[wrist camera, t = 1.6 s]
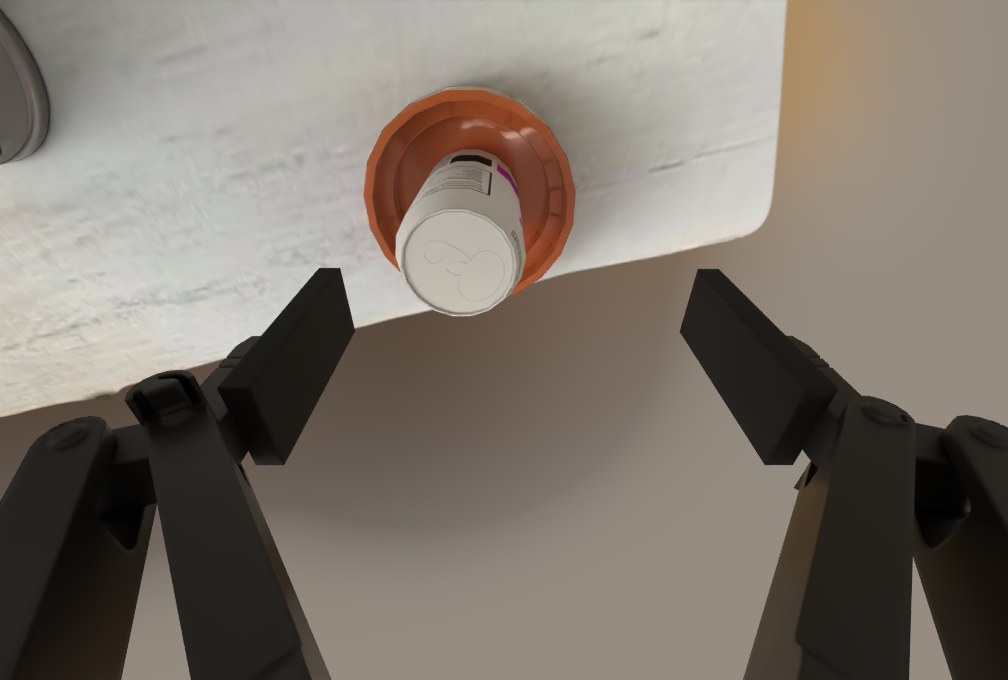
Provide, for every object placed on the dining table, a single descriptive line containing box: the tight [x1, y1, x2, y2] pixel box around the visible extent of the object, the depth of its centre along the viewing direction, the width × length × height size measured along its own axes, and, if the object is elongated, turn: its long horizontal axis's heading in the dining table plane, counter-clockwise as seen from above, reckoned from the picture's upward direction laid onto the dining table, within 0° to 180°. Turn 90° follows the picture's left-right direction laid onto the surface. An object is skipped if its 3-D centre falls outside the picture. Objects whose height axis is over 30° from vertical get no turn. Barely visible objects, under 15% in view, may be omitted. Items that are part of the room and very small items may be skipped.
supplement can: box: [395, 149, 526, 316], centre depth 31 cm, size 8×8×15 cm
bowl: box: [363, 86, 575, 296], centre depth 36 cm, size 17×17×4 cm
